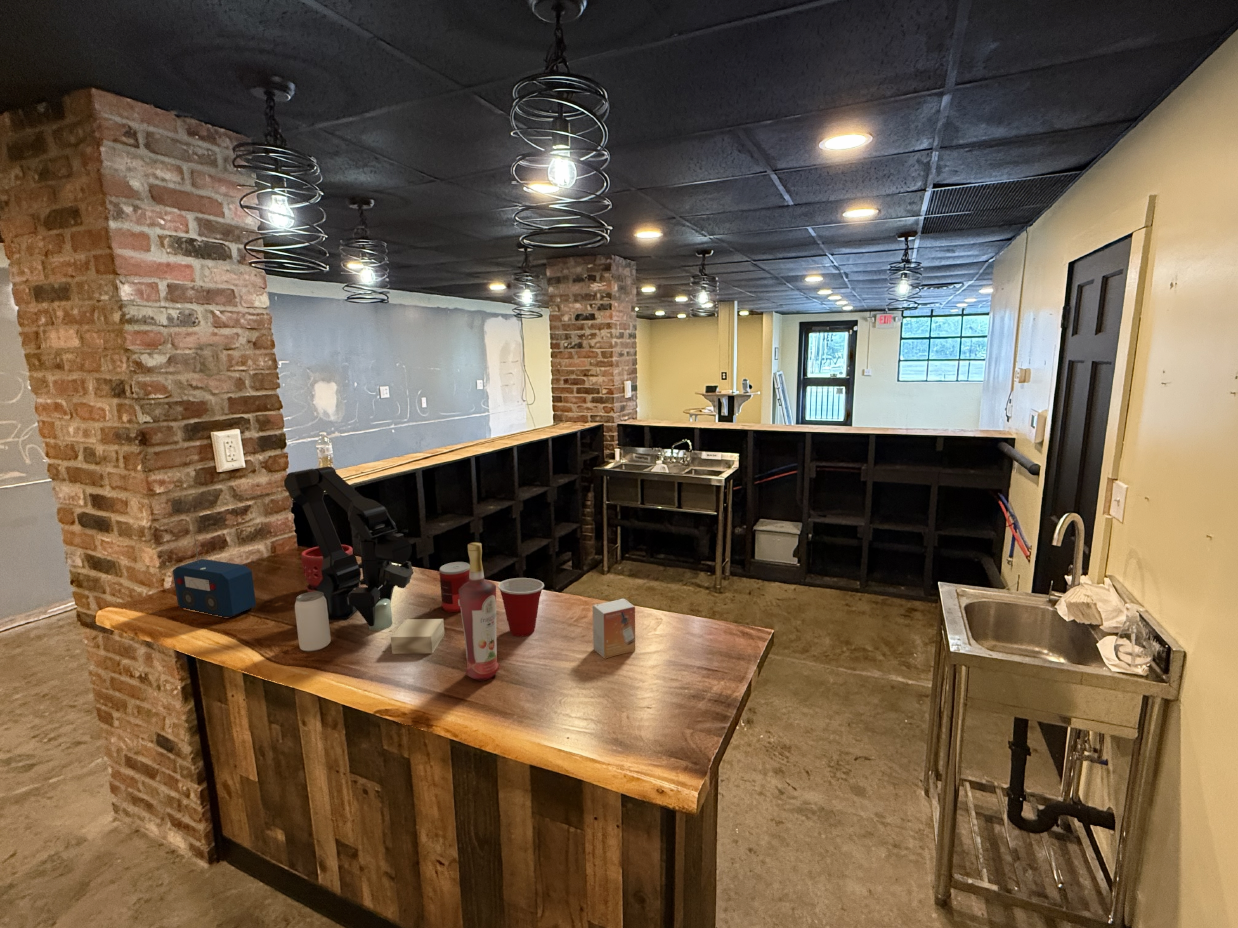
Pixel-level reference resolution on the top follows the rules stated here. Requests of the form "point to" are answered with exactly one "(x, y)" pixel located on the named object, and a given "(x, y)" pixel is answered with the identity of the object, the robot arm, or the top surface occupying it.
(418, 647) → the beech block
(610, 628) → the small box
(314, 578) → the plant pot
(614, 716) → the top surface
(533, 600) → the plastic cup
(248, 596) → the radio
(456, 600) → the canned food
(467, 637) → the liquor
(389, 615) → the grey-green rounded piece
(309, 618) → the can
